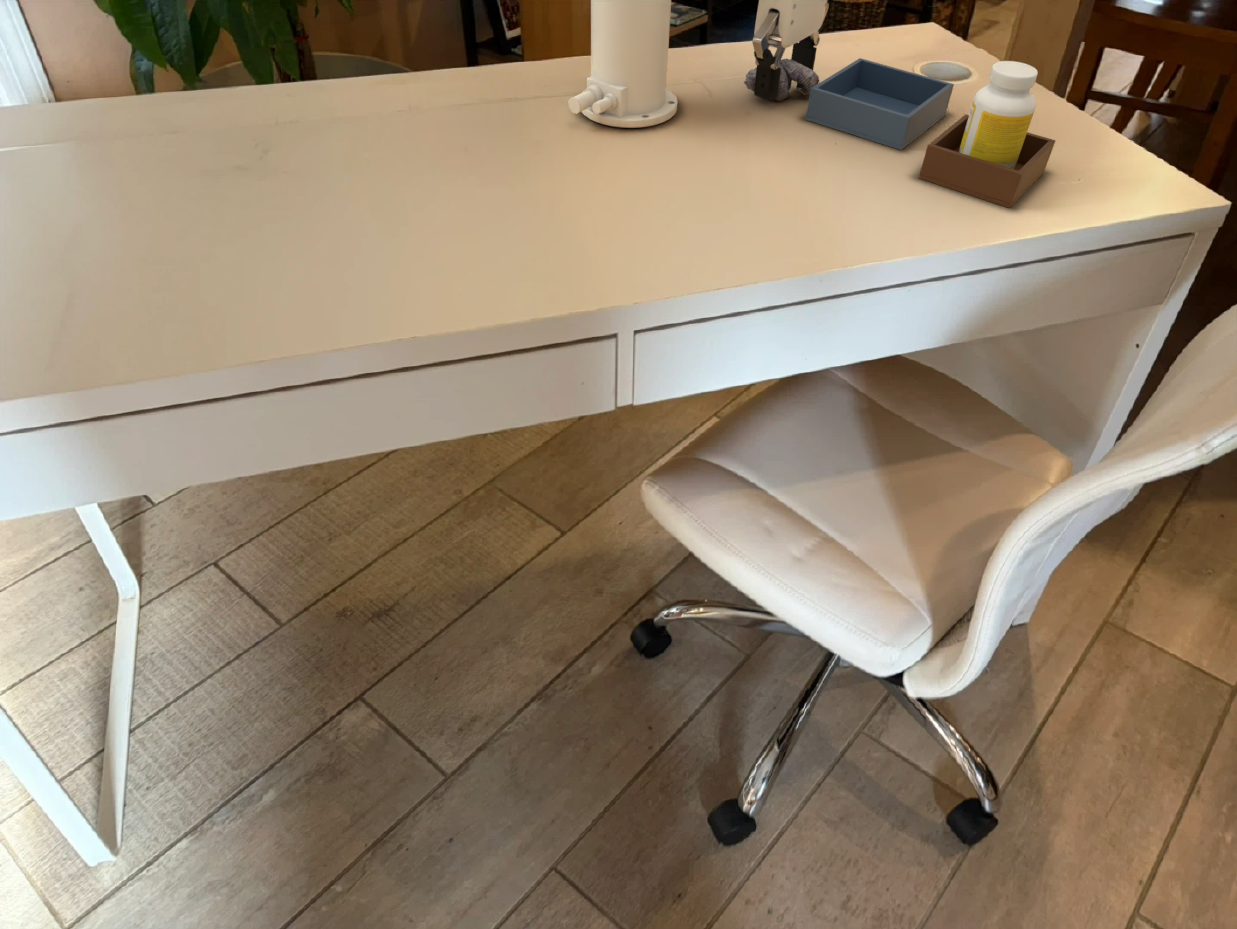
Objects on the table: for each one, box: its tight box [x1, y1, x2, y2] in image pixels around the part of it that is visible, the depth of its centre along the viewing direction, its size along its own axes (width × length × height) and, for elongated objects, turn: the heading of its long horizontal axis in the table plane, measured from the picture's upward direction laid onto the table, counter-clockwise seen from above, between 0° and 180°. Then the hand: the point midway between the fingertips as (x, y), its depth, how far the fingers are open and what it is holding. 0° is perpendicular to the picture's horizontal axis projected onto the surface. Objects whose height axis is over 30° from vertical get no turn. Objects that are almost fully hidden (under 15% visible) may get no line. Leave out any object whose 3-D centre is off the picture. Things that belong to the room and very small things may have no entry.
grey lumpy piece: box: [743, 58, 820, 102], centre depth 118 cm, size 5×5×10 cm
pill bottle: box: [959, 60, 1039, 169], centre depth 100 cm, size 6×6×12 cm
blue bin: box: [805, 57, 955, 151], centre depth 114 cm, size 13×13×4 cm
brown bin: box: [918, 114, 1056, 209], centre depth 103 cm, size 11×11×4 cm
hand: (783, 85), depth 119 cm, fingers closed on grey lumpy piece, 8 cm apart
